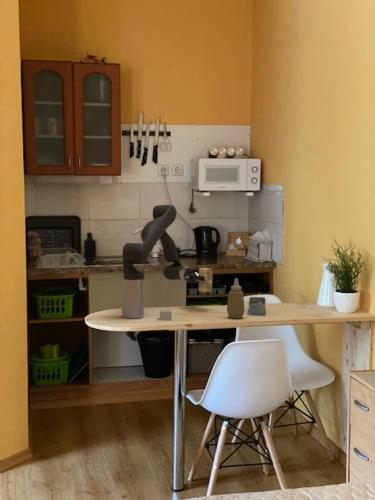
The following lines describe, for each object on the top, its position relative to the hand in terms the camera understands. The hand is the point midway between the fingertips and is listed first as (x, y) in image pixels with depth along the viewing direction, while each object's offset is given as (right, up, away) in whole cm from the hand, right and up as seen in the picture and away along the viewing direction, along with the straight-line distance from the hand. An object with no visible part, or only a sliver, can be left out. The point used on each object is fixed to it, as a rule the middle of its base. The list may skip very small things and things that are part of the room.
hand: (208, 278), depth 305 cm
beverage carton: (+23, -17, +3) cm, 29 cm away
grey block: (-20, -17, -20) cm, 33 cm away
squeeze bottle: (+12, -17, -13) cm, 25 cm away
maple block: (-2, -6, +3) cm, 7 cm away
